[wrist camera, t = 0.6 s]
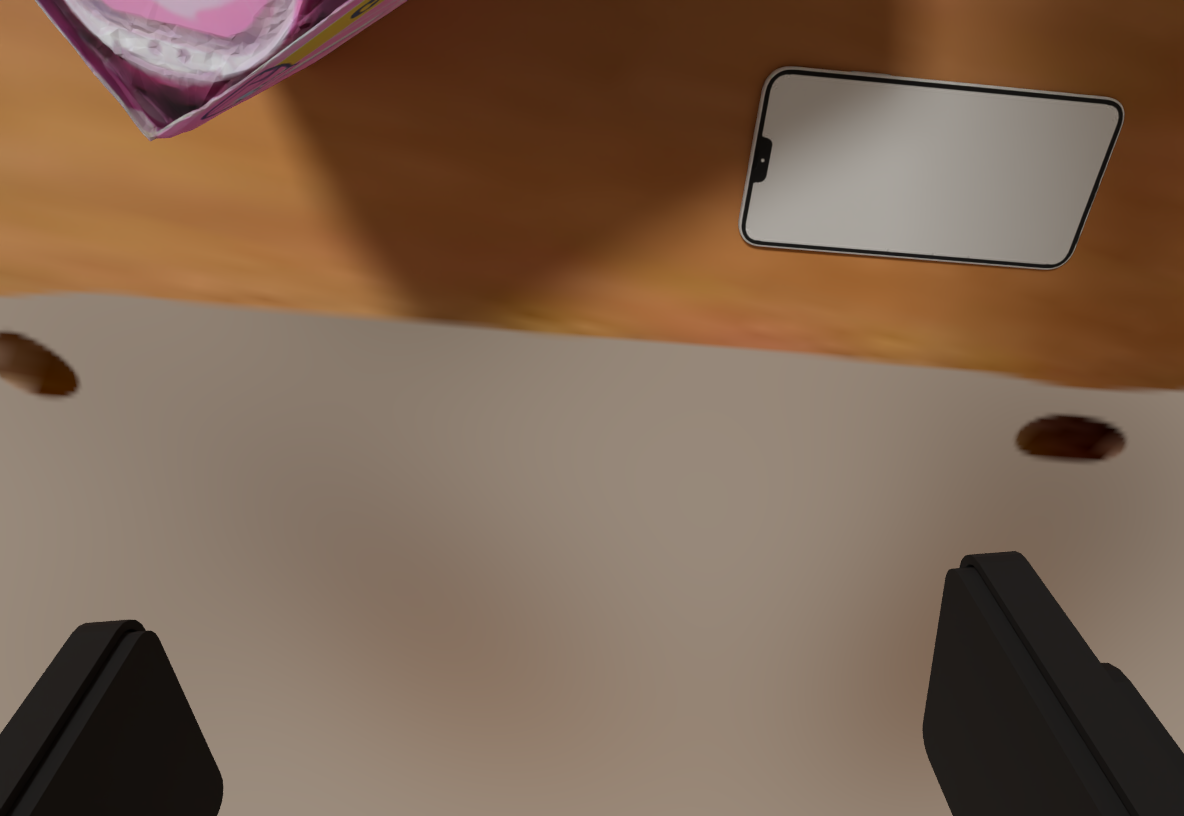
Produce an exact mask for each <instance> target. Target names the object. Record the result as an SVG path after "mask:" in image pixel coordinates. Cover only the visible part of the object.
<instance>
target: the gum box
mask: <svg viewBox="0 0 1184 816" xmlns="http://www.w3.org/2000/svg"><path fill="white" fill-rule="evenodd" d="M35 1H36V2H37V4H38V5H39V6H40V8H41V9H42V10H43V11H44V13H45V14H46V15H47V16H48V18H49V19H50V20H51V22H52V23H53V24H54V25H55V26H56V28H57V29H58V30H59V31H60V32H61V33H62V35H63V36H64V37H65V38H66V39H67V40H68V42H69V43H70V44H71V45H72V46H73V47H74V49H75V50H76V51H77V53H78V54H79V55H80V57H81V58H82V59H83V61H84V62H85V63H86V64H87V66H88V67H89V68H90V69H91V71H92V72H93V73H94V75H95V76H96V77H97V78H98V79H99V80H100V81H101V83H102V84H103V85H104V86H105V87H106V88H107V89H108V91H109V92H110V93H111V94H112V95H113V96H114V97H115V98H116V99H117V101H118V102H119V103H120V104H121V105H122V107H123V108H124V109H125V111H126V112H127V113H128V115H129V116H130V117H131V119H132V120H133V122H134V123H135V124H136V126H137V127H138V128H139V130H140V131H141V132H142V133H143V134H144V135H145V136H146V137H147V138H148V139H149V140H150V141H152V140H154V139H156V138H170V137H173V136H176V135H178V134H181V133H183V132H187V131H190V130H193V129H195V128H197V127H198V126H200V125H202V124H204V123H206V122H207V121H209V120H211V119H212V118H214V117H216V116H218V115H219V114H221V113H223V112H225V111H226V110H228V109H230V108H232V107H234V106H236V105H238V104H239V103H241V102H243V101H245V100H248V99H250V98H252V97H253V96H255V95H257V94H259V93H260V92H262V91H264V90H266V89H268V88H269V87H271V86H273V85H275V84H277V83H278V82H280V81H282V80H283V79H286V78H288V77H289V76H291V75H292V74H294V73H296V72H298V71H300V70H302V69H304V68H306V67H308V66H310V65H311V64H313V63H315V62H316V61H318V60H319V59H321V58H323V57H324V56H326V55H327V54H329V53H330V52H332V51H333V50H335V49H336V48H338V47H339V46H340V45H342V44H343V43H345V42H346V41H348V40H349V39H351V38H352V37H354V36H355V35H357V34H358V33H360V32H361V31H363V30H364V29H365V28H367V27H368V26H370V25H371V24H373V23H375V22H376V21H378V20H379V19H381V18H382V17H384V16H385V15H387V14H389V13H390V12H391V11H393V10H394V9H396V8H397V7H399V6H400V5H402V4H403V3H405V2H406V1H408V0H35Z"/></svg>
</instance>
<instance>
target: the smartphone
mask: <svg viewBox="0 0 1184 816" xmlns="http://www.w3.org/2000/svg"><path fill="white" fill-rule="evenodd" d="M805 70H806V71H805ZM815 71H816V72H815ZM825 72H827V73H825ZM836 73H837V74H836ZM846 74H847V75H846ZM857 75H858V76H857ZM867 76H868V77H867ZM877 77H878V78H877ZM888 78H889V79H888ZM898 79H899V80H898ZM909 80H910V81H909ZM919 81H920V82H919ZM929 82H930V83H929ZM940 83H941V84H940ZM950 84H951V85H950ZM971 86H972V87H971ZM981 87H982V88H981ZM1002 89H1003V90H1002ZM1023 91H1024V92H1023ZM1033 92H1034V93H1033ZM1054 94H1055V95H1054ZM1085 97H1086V98H1085ZM1123 121H1124V109H1123V106H1122V105H1121V103H1120V102H1119V101H1117V100H1115V99H1113V98H1109V97H1104V96H1094V95H1084V94H1073V93H1063V92H1053V91H1043V90H1033V89H1022V88H1012V87H1002V86H992V85H981V84H971V83H961V82H951V81H948V82H947V81H940V80H930V79H920V78H909V77H899V76H891V75H889V74H879V73H869V72H858V71H851V72H848V71H837V70H827V69H817V68H806V67H796V66H785V67H781V68H778V69H776V70H775V71H773V72H772V73H771V74H770V75H769V76H768V77H767V79H766V81H765V83H764V85H763V88H762V92H761V97H760V103H759V109H758V114H757V120H756V125H755V131H754V136H753V142H752V148H751V153H750V159H749V164H748V170H747V175H746V181H745V187H744V192H743V198H742V203H741V209H740V215H739V221H738V227H739V231H740V234H741V236H742V237H743V239H744V240H745V241H746V242H747V243H749V244H751V245H754V246H760V247H772V248H784V249H796V250H808V251H820V252H833V253H845V254H857V255H870V256H882V257H894V258H906V259H919V260H931V261H943V262H955V263H968V264H980V265H992V266H1004V267H1017V268H1029V269H1041V270H1050V269H1055V268H1058V267H1060V266H1062V265H1063V264H1065V263H1066V262H1067V261H1068V260H1069V259H1070V257H1071V256H1072V254H1073V253H1074V250H1075V248H1076V246H1077V243H1078V240H1079V238H1080V235H1081V233H1082V230H1083V227H1084V225H1085V222H1086V220H1087V217H1088V214H1089V212H1090V209H1091V207H1092V204H1093V201H1094V199H1095V196H1096V193H1097V191H1098V188H1099V186H1100V183H1101V180H1102V178H1103V175H1104V173H1105V170H1106V167H1107V165H1108V162H1109V160H1110V157H1111V154H1112V152H1113V149H1114V146H1115V144H1116V141H1117V139H1118V136H1119V133H1120V131H1121V128H1122V125H1123Z"/></svg>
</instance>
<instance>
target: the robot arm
mask: <svg viewBox="0 0 1184 816" xmlns="http://www.w3.org/2000/svg"><path fill="white" fill-rule="evenodd" d="M923 739H924V745H925V749H926V752H927V755H928V758H929V761H930V763H931V765H932V768H933V770H934V773H935V775H936V777H937V780H938V782H939V784H940V786H941V789H942V791H943V793H944V796H945V798H946V801H947V803H948V805H949V808H950V810H951V812H952V815H953V816H1184V753H1183V752H1182V751H1181V749H1180V748H1179V747H1178V745H1177V744H1176V742H1175V741H1174V740H1173V739H1172V737H1171V736H1170V735H1169V733H1168V732H1167V730H1166V729H1165V728H1164V726H1163V725H1162V723H1161V722H1160V721H1159V719H1158V718H1157V717H1156V715H1155V714H1154V713H1153V711H1152V710H1151V709H1150V707H1149V706H1148V704H1147V703H1146V702H1145V700H1144V699H1143V698H1142V696H1141V695H1140V694H1139V692H1138V691H1137V690H1136V688H1135V687H1134V686H1133V684H1132V683H1131V681H1130V680H1129V679H1128V678H1127V677H1126V676H1125V675H1124V674H1123V673H1122V672H1121V670H1120V669H1118V668H1116V667H1114V666H1113V665H1111V664H1109V663H1100V662H1099V660H1098V659H1097V657H1096V656H1095V655H1094V653H1093V652H1092V650H1091V649H1090V648H1089V646H1088V645H1087V643H1086V642H1085V641H1084V639H1083V638H1082V636H1081V635H1080V633H1079V632H1078V631H1077V629H1076V628H1075V626H1074V625H1073V624H1072V622H1071V621H1070V620H1069V618H1068V617H1067V616H1066V614H1065V612H1064V611H1063V610H1062V608H1061V607H1060V605H1059V604H1058V603H1057V601H1056V600H1055V599H1054V597H1053V596H1052V595H1051V593H1050V591H1049V590H1048V589H1047V588H1046V586H1045V584H1044V583H1043V582H1042V581H1041V579H1040V577H1039V576H1038V575H1037V573H1036V572H1035V570H1034V569H1033V568H1032V566H1031V565H1030V564H1029V562H1028V561H1027V560H1026V558H1025V557H1024V556H1023V555H1022V554H1021V553H1018V552H1016V551H1012V552H999V553H985V554H974V555H966V556H965V557H964V558H963V559H962V561H961V564H960V568H956V569H950V570H949V571H948V572H947V575H946V578H945V585H944V591H943V597H942V604H941V611H940V617H939V623H938V629H937V636H936V642H935V649H934V655H933V662H932V668H931V675H930V681H929V688H928V694H927V700H926V708H925V713H924V720H923ZM222 797H223V780H222V777H221V774H220V771H219V769H218V767H217V765H216V762H215V760H214V758H213V756H212V754H211V752H210V749H209V747H208V745H207V743H206V741H205V738H204V736H203V734H202V732H201V730H200V727H199V725H198V723H197V721H196V719H195V716H194V714H193V712H192V710H191V708H190V705H189V703H188V701H187V699H186V697H185V695H184V692H183V690H182V688H181V686H180V684H179V681H178V679H177V677H176V675H175V673H174V670H173V668H172V666H171V664H170V662H169V659H168V657H167V655H166V653H165V651H164V648H163V646H162V644H161V642H160V640H159V638H158V636H157V635H156V633H154V632H152V631H146V630H145V628H144V627H143V625H142V624H141V623H139V622H138V621H136V620H119V621H106V622H93V623H85V624H83V625H80V626H79V627H78V628H77V629H76V630H75V631H74V632H73V633H72V634H71V635H70V637H69V638H68V640H67V641H66V642H65V644H64V645H63V647H62V648H61V649H60V651H59V652H58V654H57V655H56V657H55V658H54V659H53V661H52V662H51V664H50V665H49V666H48V668H47V669H46V671H45V672H44V673H43V675H42V676H41V678H40V679H39V680H38V682H37V683H36V685H35V686H34V687H33V689H32V690H31V692H30V693H29V694H28V696H27V697H26V699H25V700H24V701H23V703H22V704H21V706H20V707H19V709H18V710H17V711H16V713H15V714H14V716H13V717H12V718H11V720H10V721H9V723H8V724H7V725H6V727H5V728H4V730H3V731H2V732H1V734H0V816H217V814H218V812H219V809H220V806H221V803H222Z"/></svg>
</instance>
